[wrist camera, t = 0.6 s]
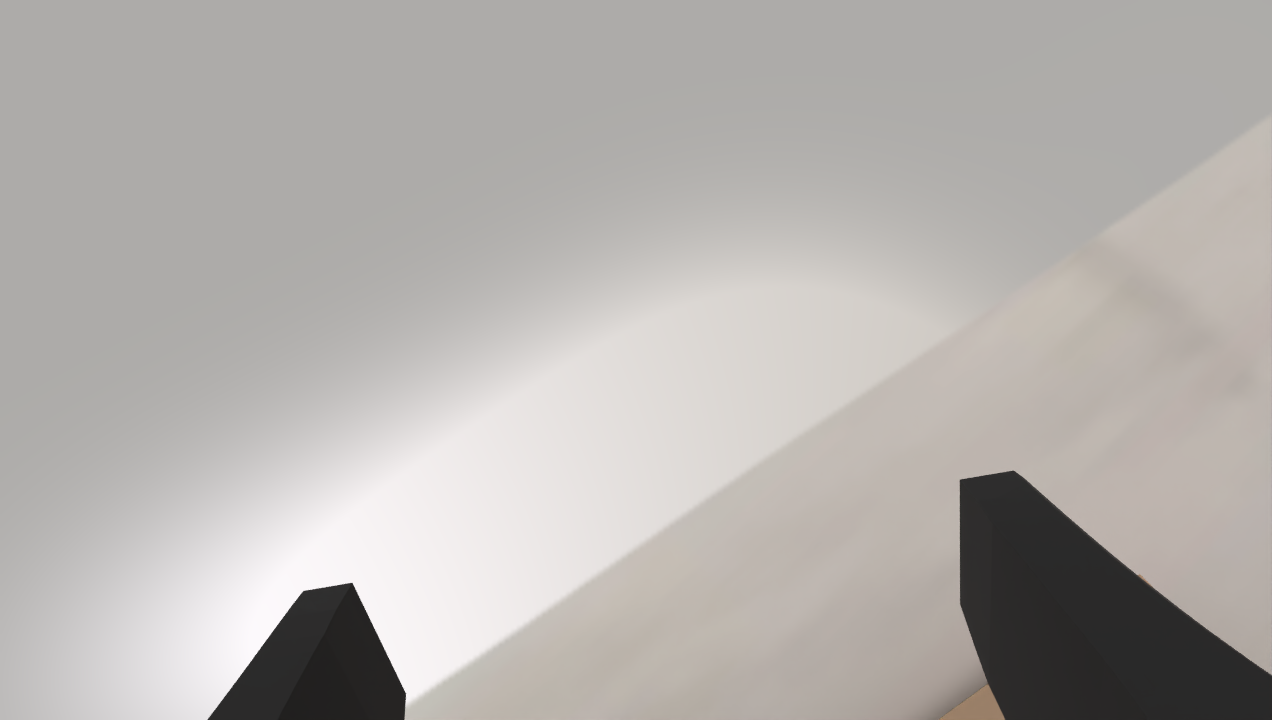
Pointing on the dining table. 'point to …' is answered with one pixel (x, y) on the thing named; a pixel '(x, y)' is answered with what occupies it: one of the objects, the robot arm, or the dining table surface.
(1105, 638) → the robot arm
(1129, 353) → the dining table surface
